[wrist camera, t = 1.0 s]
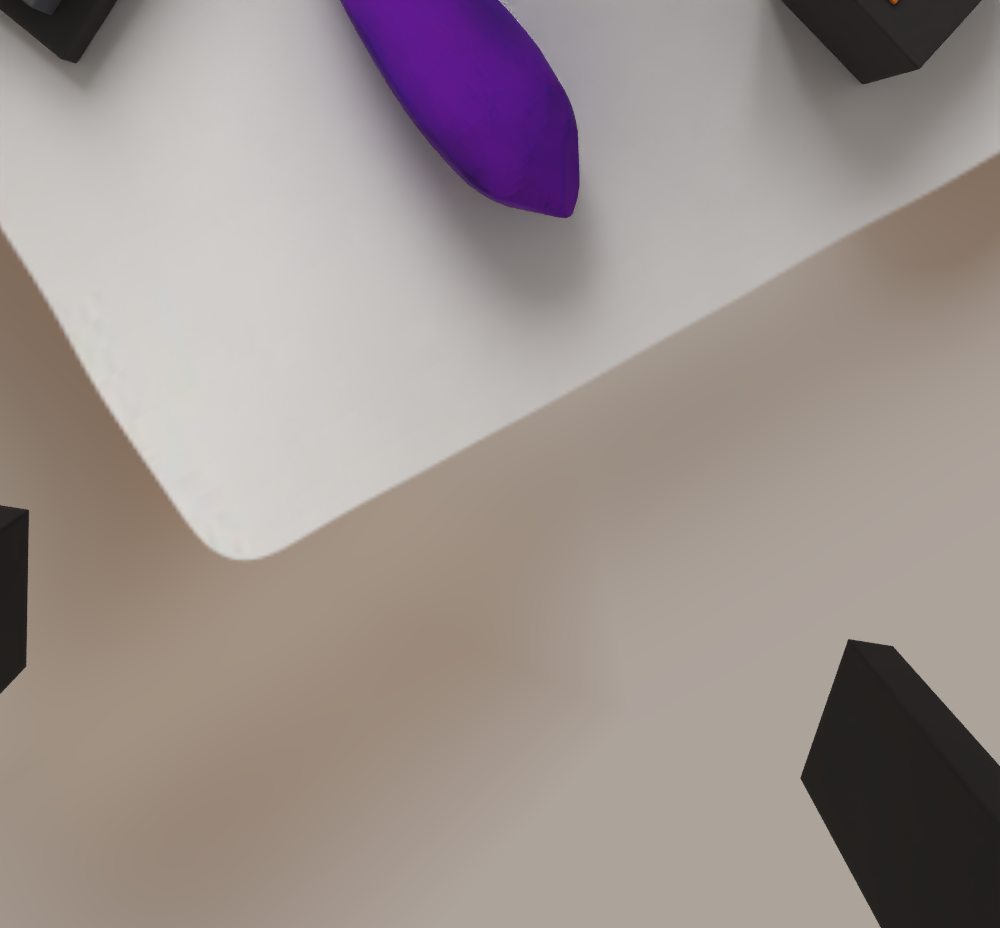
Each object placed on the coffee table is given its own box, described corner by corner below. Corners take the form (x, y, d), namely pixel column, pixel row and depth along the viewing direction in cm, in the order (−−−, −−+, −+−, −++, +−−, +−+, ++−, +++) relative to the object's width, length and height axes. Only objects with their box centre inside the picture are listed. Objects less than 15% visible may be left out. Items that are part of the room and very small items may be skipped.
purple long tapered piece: (329, -232, 26) (632, 161, 29) (361, -156, 31) (618, 175, 33) (219, -117, 27) (521, 256, 29) (266, -60, 32) (524, 257, 34)
